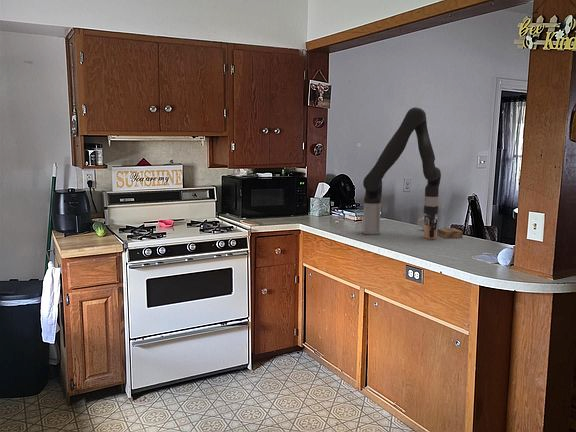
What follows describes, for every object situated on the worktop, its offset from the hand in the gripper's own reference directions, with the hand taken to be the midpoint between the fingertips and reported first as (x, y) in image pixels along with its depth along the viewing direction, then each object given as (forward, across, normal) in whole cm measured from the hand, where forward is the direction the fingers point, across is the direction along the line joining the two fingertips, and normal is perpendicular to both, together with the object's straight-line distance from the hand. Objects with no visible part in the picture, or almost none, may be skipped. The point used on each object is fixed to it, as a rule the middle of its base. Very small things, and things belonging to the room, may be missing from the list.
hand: (429, 236), depth 289 cm
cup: (+1, -22, +6) cm, 23 cm away
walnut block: (+1, -3, +12) cm, 13 cm away
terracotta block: (+1, 0, 0) cm, 1 cm away
